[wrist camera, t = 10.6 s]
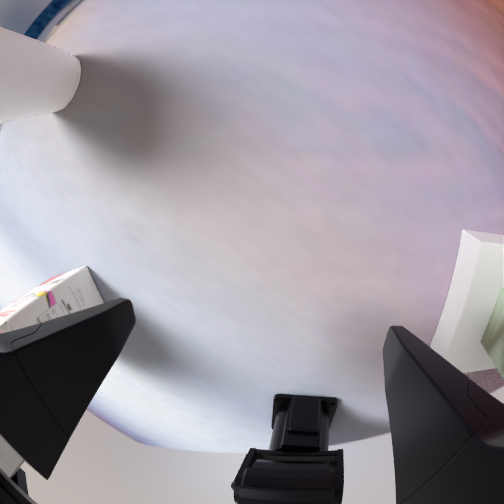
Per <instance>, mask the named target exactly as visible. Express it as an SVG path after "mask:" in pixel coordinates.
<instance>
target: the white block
mask: <svg viewBox="0 0 504 504" xmlns="http://www.w3.org/2000/svg"><path fill="white" fill-rule="evenodd" d="M500 288H504V235H500V234H492V233H485V232H478V231H470V230H462V235H461V241H460V246H459V251H458V256H457V260H456V265H455V269H454V273H453V277H452V281H451V284H450V288H449V292H448V295H447V298H446V302H445V305H444V308H443V311H442V314H441V317H440V320H439V323H438V326H437V329H436V332H435V334H434V337H433V340H432V342H431V345H430V348H432V349H433V350H434V351H436V352H437V353H438V354H439V355H441V356H442V357H443V358H445V359H446V360H447V361H448V362H450V363H451V364H452V365H453V366H455V367H456V368H457V369H458V370H460V371H461V372H462V373H469V372H476V371H482V370H488V369H494V368H496V366H495V365H494V363H493V361H492V360H491V358H490V357H489V355H488V353H487V352H486V350H485V349H484V347H483V345H482V344H481V342H480V341H481V339H482V336H483V334H484V332H485V329H486V327H487V324H488V322H489V319H490V317H491V314H492V311H493V309H494V306H495V303H496V300H497V297H498V294H499V291H500Z"/></svg>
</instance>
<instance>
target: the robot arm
mask: <svg viewBox="0 0 504 504" xmlns="http://www.w3.org/2000/svg"><path fill="white" fill-rule="evenodd" d="M135 321H136V319H135V314H134V310H133V306H132V302H131V301H130V300H129V299H124V298H119V299H116V300H112V301H109V302H106V303H103V304H100V305H96V306H93V307H90V308H87V309H84V310H80V311H77V312H74V313H71V314H68V315H64V316H61V317H58V318H55V319H51V320H48V321H45V322H41V323H38V324H35V325H32V326H28V327H25V328H21V329H17V330H13V331H9V332H5V333H1V334H0V504H37V503H36V502H35V501H33V500H32V499H31V498H30V497H29V496H28V490H27V483H26V476H25V472H24V471H23V470H22V469H21V468H20V467H21V465H22V464H23V463H24V461H25V462H26V463H27V464H29V465H30V466H31V467H32V468H33V469H34V470H36V471H37V472H38V473H39V474H40V475H42V476H43V477H44V478H45V479H47V480H48V478H49V477H50V475H51V473H52V471H53V469H54V467H55V465H56V464H57V462H58V460H59V458H60V456H61V454H62V452H63V450H64V448H65V446H66V445H67V443H68V441H69V438H70V437H71V435H72V433H73V431H74V430H75V428H76V426H77V424H78V422H79V421H80V419H81V417H82V416H83V414H84V412H85V410H86V409H87V407H88V405H89V404H90V402H91V400H92V399H93V397H94V395H95V394H96V392H97V390H98V389H99V387H100V385H101V384H102V382H103V380H104V379H105V377H106V375H107V374H108V372H109V371H110V369H111V367H112V366H113V364H114V363H115V361H116V359H117V358H118V356H119V354H120V353H121V351H122V349H123V347H124V345H125V343H126V341H127V339H128V337H129V335H130V333H131V331H132V329H133V327H134V325H135ZM383 360H384V376H385V392H386V399H387V406H388V413H389V420H390V427H391V435H392V445H393V455H394V467H395V484H396V504H504V404H503V403H502V402H500V401H499V400H497V399H496V398H494V397H493V396H491V395H490V394H489V393H487V392H486V391H485V390H484V389H482V388H481V387H480V386H478V385H477V384H476V383H475V382H474V381H472V380H471V379H470V380H469V377H467V376H466V375H465V374H464V373H462V372H461V371H460V370H458V369H457V368H456V367H455V366H453V365H452V364H451V363H450V362H448V361H447V360H446V359H445V358H443V357H442V356H441V355H439V354H438V353H437V352H436V351H434V350H433V349H432V348H430V347H429V346H428V345H427V344H425V343H424V342H423V341H421V340H420V339H419V338H417V337H416V336H415V335H413V334H412V333H411V332H409V331H408V330H407V329H406V328H404V327H403V326H391V327H390V328H389V330H388V333H387V337H386V340H385V343H384V347H383ZM278 398H279V399H278ZM337 404H338V400H337V399H336V398H323V397H306V396H294V395H283V394H276V395H275V396H274V402H273V416H272V429H273V433H272V438H271V443H270V447H269V450H259V449H256V448H250V450H249V452H248V454H247V455H246V457H245V459H244V461H243V463H242V465H241V467H240V469H239V471H238V473H237V475H236V478H235V480H234V481H233V482H232V484H231V488H232V489H233V490H234V501H235V502H236V503H237V504H341V503H342V496H343V485H344V466H343V464H344V463H343V449H338V450H335V451H328V442H329V428H330V425H331V422H332V419H333V416H334V413H335V410H336V407H337Z"/></svg>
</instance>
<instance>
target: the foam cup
mask: <svg viewBox="0 0 504 504" xmlns="http://www.w3.org/2000/svg"><path fill="white" fill-rule="evenodd" d="M80 76H81V65H80V61H79V59H78V58H76V57H75V56H74V55H71V54H70V53H68V52H65V51H63V50H61V49H58V48H56V47H53V46H51V45H48V44H46V43H43V42H41V41H38V40H36V39H33V38H30V37H27V36H25V35H21V34H19V33H16V32H13V31H10V30H7V29H4V28H2V27H1V26H0V124H1V123H5V122H9V121H13V120H17V119H22V118H26V117H31V116H36V115H42V114H47V113H53V112H59V111H60V110H62V109H63V108H65V107H66V106H67V105H68V104H69V102H70V101H71V99H72V98H73V97H74V95H75V93H76V90H77V88H78V85H79V83H80Z"/></svg>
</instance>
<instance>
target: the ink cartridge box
mask: <svg viewBox="0 0 504 504" xmlns="http://www.w3.org/2000/svg"><path fill="white" fill-rule="evenodd" d="M103 303H104V301H103V299H102V297H101V295H100V293H99V291H98V289H97V287H96V285H95V283H94V281H93V278H92V276H91V274H90V272H89V270H88V267H87V266H84V267H81V268H78V269H76V270H73V271H70V272H67V273H65V274H62V275H59V276H57V277H54V278H51V279H49V280H47V281H46V282H44V283H43V284H41V285H39V286H38V287H36V288H34V289H33V290H31V291H30V292H28V293H27V294H25V295H23V296H22V297H20V298H19V299H17V300H16V301H14V302H13V303H11V304H10V305H8V306H7V307H5V308H4V309H2V310H1V311H0V334H1V333H5V332H9V331H13V330H17V329H21V328H25V327H28V326H32V325H35V324H38V323H41V322H45V321H48V320H51V319H55V318H58V317H61V316H64V315H68V314H71V313H74V312H77V311H80V310H84V309H87V308H90V307H93V306H96V305H100V304H103Z"/></svg>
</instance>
